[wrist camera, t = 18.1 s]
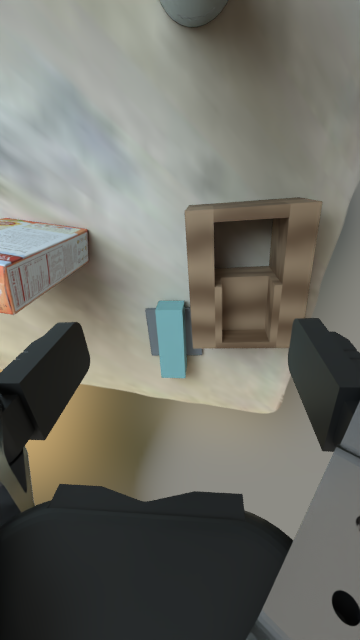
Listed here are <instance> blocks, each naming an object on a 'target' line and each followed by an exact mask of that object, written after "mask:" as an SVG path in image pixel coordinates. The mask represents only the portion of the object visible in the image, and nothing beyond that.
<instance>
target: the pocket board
mask: <svg viewBox="0 0 360 640" xmlns="http://www.w3.org/2000/svg"><path fill="white" fill-rule="evenodd" d="M321 207H322V201H316V200H310V199H305V198H285V199H271V200H258V201H244V202H230V203H216V204H202V205H189V206H188V208H187V209H186V210H185V225H186V242H187V258H188V275H189V291H190V308H191V324H192V341H193V349H201V348H289V346H290V339H291V332H292V325H293V321H294V319H296V318H305V312H306V306H307V299H308V293H309V286H310V279H311V273H312V266H313V260H314V253H315V247H316V240H317V233H318V227H319V220H320V214H321ZM272 218H273V222H272V235H271V248H270V260H269V266H260V267H237V268H214V222H225V221H241V220H257V219H272Z"/></svg>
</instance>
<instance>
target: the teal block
mask: <svg viewBox="0 0 360 640" xmlns="http://www.w3.org/2000/svg"><path fill="white" fill-rule="evenodd" d="M155 314H156V324H157V335H158V345H159V355H160V366H161V376H162V378H185V377H186V368H187V356H186V332H185V307H184V301H159V302H158V305H157V307H156V310H155Z"/></svg>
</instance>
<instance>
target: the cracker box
mask: <svg viewBox="0 0 360 640" xmlns="http://www.w3.org/2000/svg"><path fill="white" fill-rule="evenodd" d="M88 261H89V258H88V231H87V229H82V228H75V227H68V226H61V225H53V224H46V223H39V222H32V221H24V220H17V219H10V218H3V219H0V313H6V314H13V315H14V314H16V313H17V312H19V311H20V310H22V309H23V308H24V307H26V306H27V305H29V304H30V303H32V302H33V301H34V300H36V299H37V298H38V297H40V296H41V295H43V294H44V293H45V292H47V291H48V290H50V289H51V288H52V287H54V286H55V285H57V284H58V283H59V282H61V281H62V280H64V279H65V278H66V277H68V276H69V275H71V274H72V273H73V272H75V271H76V270H78V269H79V268H80V267H82V266H83V265H84V264H86V263H87V262H88Z"/></svg>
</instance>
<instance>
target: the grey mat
mask: <svg viewBox="0 0 360 640" xmlns="http://www.w3.org/2000/svg"><path fill="white" fill-rule="evenodd" d="M155 310H156V308H147V309H146V310H145V311H146V318H147V325H148V332H149V339H150V346H151V353H152V355H159V345H158V335H157V324H156V314H155ZM185 332H186V355H202V348H201V349H193V341H192V324H191V308H190V307H185Z"/></svg>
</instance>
